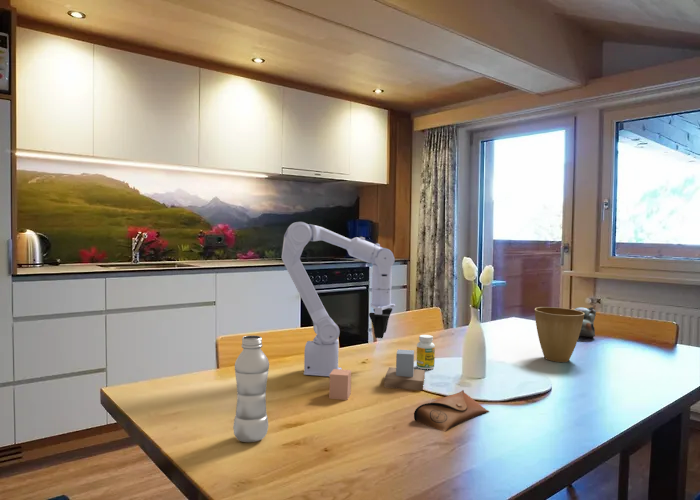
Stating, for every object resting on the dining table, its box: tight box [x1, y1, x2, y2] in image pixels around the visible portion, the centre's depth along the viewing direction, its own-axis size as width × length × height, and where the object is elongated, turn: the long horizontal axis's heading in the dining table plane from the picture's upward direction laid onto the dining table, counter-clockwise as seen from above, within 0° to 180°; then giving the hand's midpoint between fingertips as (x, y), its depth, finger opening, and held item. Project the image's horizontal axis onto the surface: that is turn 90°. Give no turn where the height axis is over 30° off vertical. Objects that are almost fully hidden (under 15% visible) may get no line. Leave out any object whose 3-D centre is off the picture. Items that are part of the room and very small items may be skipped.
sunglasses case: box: [413, 389, 490, 432], centre depth 108 cm, size 18×7×7 cm, turn 134°
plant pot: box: [534, 306, 584, 363], centre depth 157 cm, size 15×15×16 cm
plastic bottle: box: [232, 335, 270, 443], centre depth 94 cm, size 6×7×20 cm
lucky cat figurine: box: [573, 306, 597, 339], centre depth 194 cm, size 15×12×14 cm
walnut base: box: [383, 366, 426, 391], centre depth 130 cm, size 10×10×3 cm
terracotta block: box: [328, 369, 352, 401], centre depth 119 cm, size 4×4×6 cm
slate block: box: [395, 348, 415, 377], centre depth 130 cm, size 4×4×6 cm
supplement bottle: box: [416, 334, 436, 371], centre depth 145 cm, size 5×5×10 cm
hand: (380, 335), depth 141 cm, fingers open, 7 cm apart
